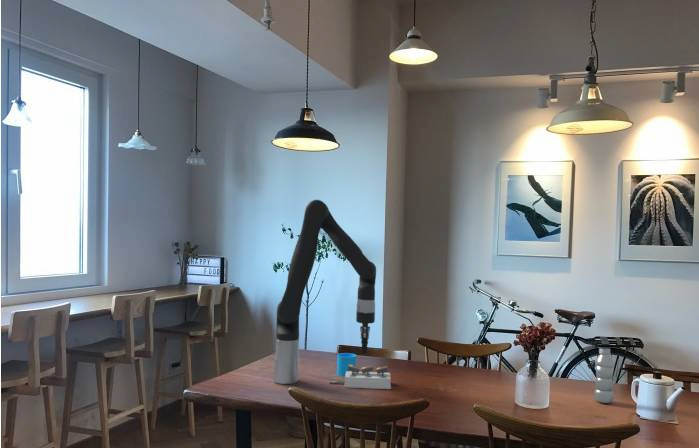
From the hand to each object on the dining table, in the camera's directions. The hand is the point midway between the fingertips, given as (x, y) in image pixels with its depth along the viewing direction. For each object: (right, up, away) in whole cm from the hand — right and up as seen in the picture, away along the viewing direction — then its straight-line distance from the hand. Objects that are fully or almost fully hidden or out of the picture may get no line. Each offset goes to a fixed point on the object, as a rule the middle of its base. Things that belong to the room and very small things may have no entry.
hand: (364, 353), depth 216 cm
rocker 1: (-4, -7, 0) cm, 8 cm away
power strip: (-2, -12, -1) cm, 12 cm away
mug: (-7, -13, +17) cm, 22 cm away
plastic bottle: (+89, -14, -18) cm, 91 cm away
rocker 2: (+2, -7, 0) cm, 7 cm away
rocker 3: (+8, -7, 0) cm, 10 cm away
